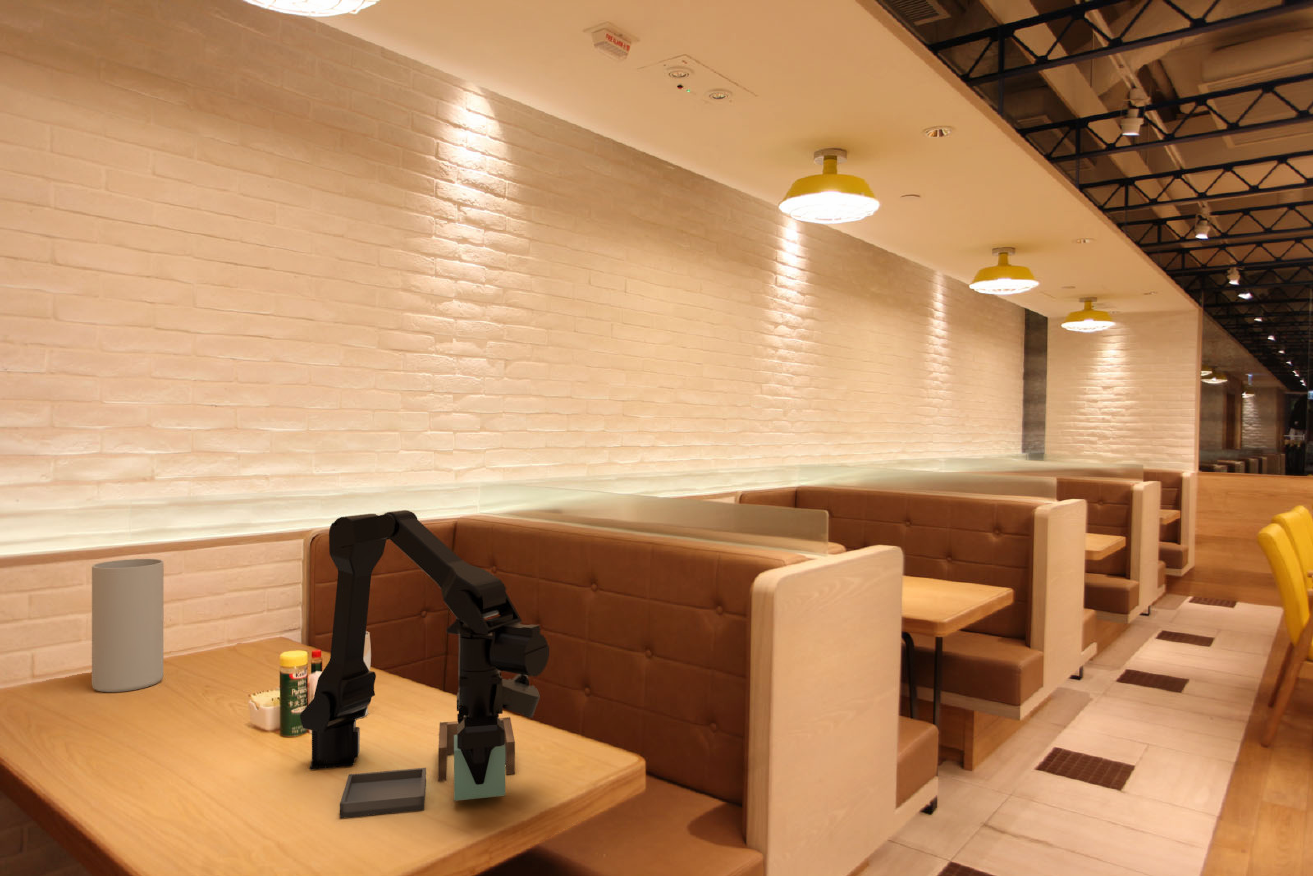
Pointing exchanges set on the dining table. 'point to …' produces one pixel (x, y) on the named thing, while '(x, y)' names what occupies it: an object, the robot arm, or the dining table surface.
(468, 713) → the robot arm
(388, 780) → the gray tray
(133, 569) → the cylinder vase
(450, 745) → the frame
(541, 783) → the dining table surface
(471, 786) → the teal block
